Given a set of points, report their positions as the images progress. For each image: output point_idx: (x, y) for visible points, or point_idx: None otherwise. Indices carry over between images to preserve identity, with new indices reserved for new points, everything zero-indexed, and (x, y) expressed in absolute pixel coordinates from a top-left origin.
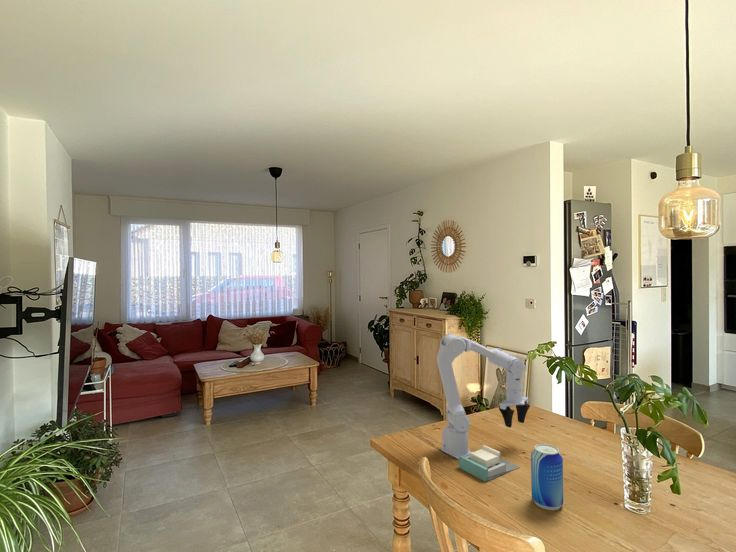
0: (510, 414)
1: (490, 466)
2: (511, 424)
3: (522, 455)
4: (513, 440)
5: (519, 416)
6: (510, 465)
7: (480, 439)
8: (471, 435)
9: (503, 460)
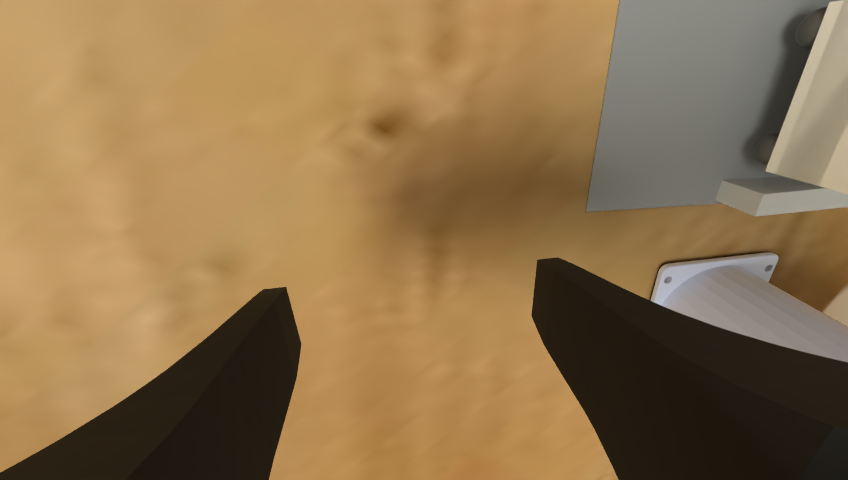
0: (839, 363)
1: (794, 71)
2: (565, 270)
3: (437, 93)
4: (297, 293)
5: (277, 391)
6: (662, 15)
7: (467, 374)
8: (465, 421)
9: (617, 108)
